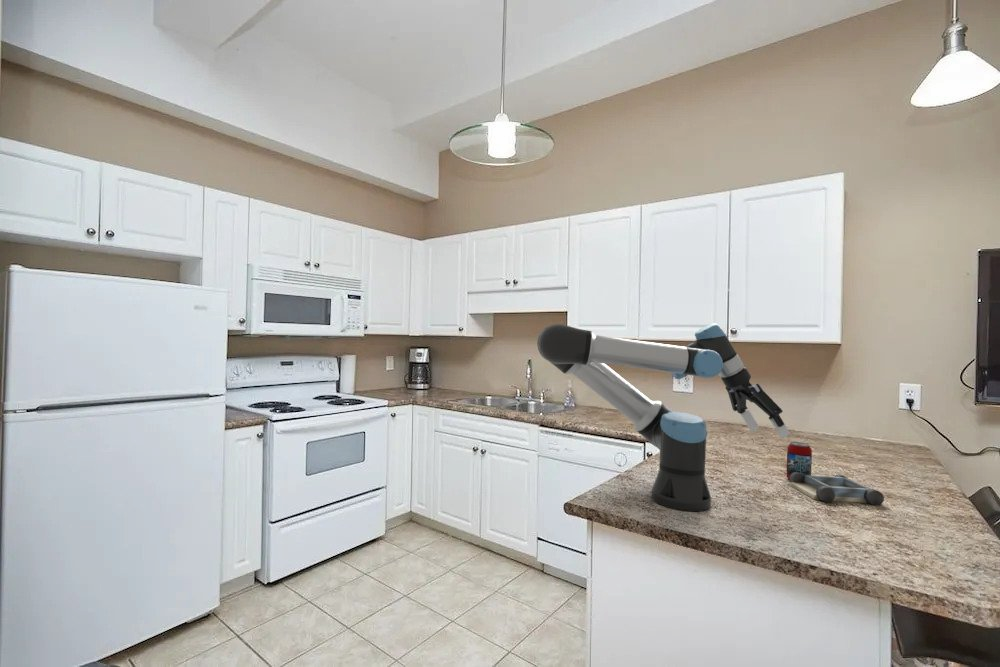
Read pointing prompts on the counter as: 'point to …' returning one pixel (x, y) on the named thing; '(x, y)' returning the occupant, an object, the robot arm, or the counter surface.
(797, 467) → the beverage can
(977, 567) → the counter surface
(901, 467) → the counter surface
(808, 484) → the chassis
